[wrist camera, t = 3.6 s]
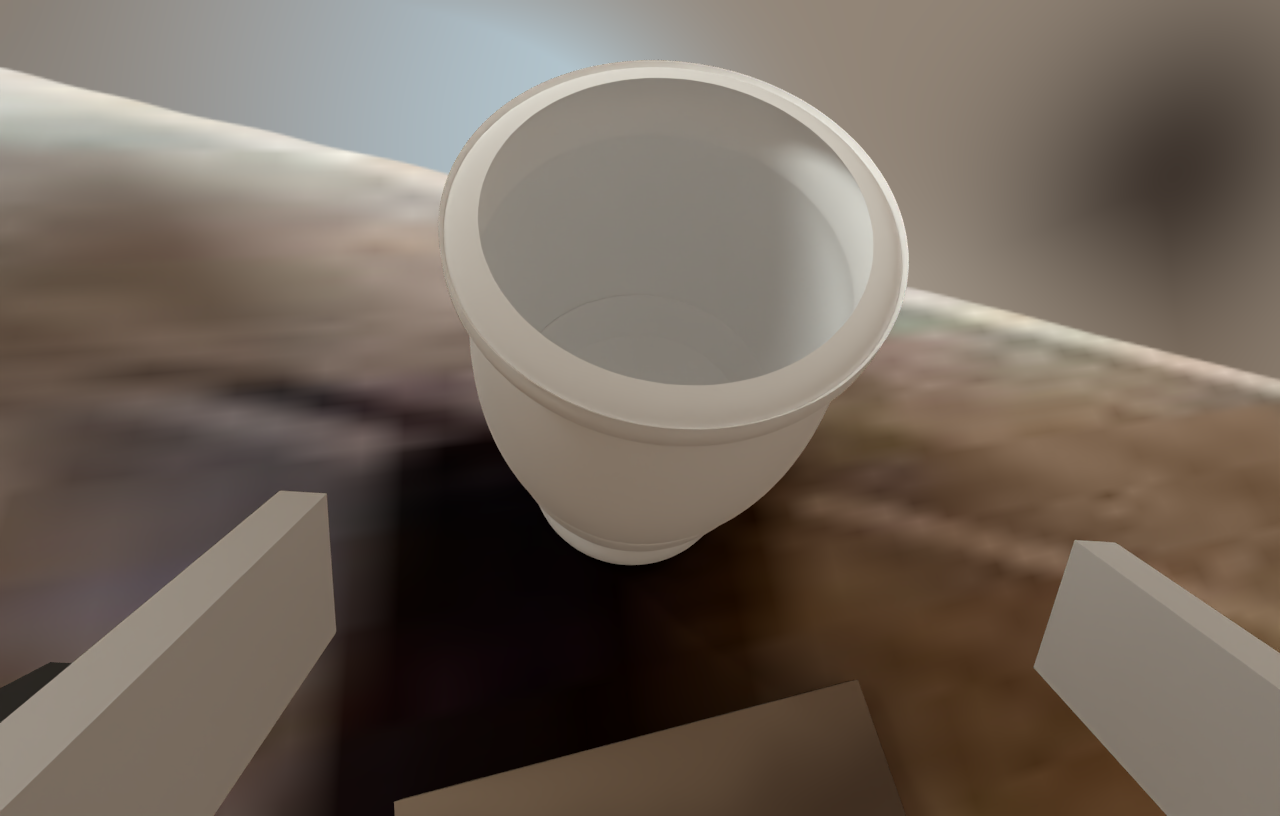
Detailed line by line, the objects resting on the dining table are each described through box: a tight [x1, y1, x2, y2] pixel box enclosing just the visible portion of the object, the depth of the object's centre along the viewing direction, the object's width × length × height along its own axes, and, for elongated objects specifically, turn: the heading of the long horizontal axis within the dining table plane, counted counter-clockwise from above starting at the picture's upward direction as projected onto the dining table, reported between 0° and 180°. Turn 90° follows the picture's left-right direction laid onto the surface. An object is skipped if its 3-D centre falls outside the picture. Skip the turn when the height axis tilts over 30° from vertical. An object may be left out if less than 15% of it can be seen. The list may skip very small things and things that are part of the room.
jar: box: [438, 60, 909, 565], centre depth 20 cm, size 11×10×15 cm
